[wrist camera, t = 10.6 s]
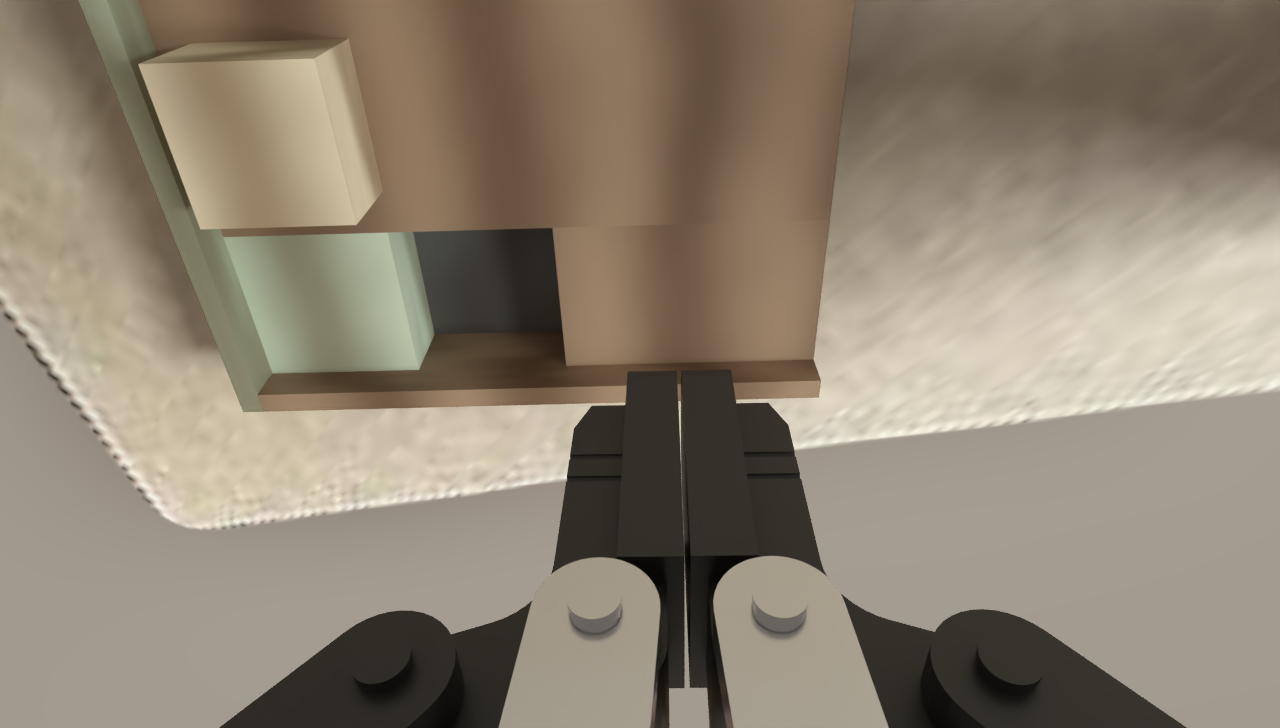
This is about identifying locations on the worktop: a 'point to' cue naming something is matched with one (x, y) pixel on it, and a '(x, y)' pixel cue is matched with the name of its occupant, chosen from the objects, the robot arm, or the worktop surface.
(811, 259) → the trap box
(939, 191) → the worktop surface
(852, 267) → the worktop surface
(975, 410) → the worktop surface
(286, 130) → the maple block
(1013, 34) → the worktop surface
